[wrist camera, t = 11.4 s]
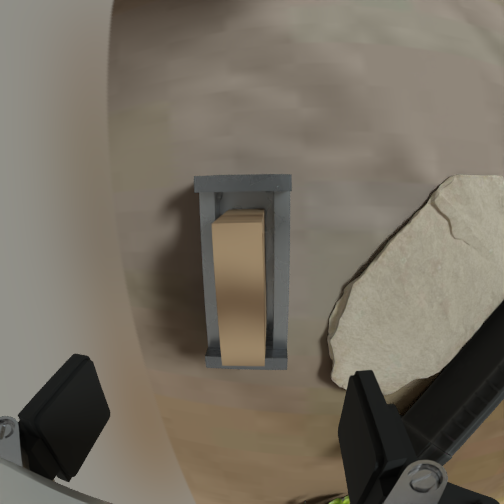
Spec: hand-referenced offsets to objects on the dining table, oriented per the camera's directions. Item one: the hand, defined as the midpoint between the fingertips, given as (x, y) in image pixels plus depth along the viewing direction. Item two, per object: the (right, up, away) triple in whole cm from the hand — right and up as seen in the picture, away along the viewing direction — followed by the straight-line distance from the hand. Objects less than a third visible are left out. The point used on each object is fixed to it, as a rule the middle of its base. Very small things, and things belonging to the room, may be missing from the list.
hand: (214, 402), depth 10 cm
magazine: (+28, -7, +20) cm, 35 cm away
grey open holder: (+1, +4, +18) cm, 19 cm away
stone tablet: (+21, +2, +18) cm, 28 cm away
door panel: (+1, +4, +18) cm, 18 cm away
